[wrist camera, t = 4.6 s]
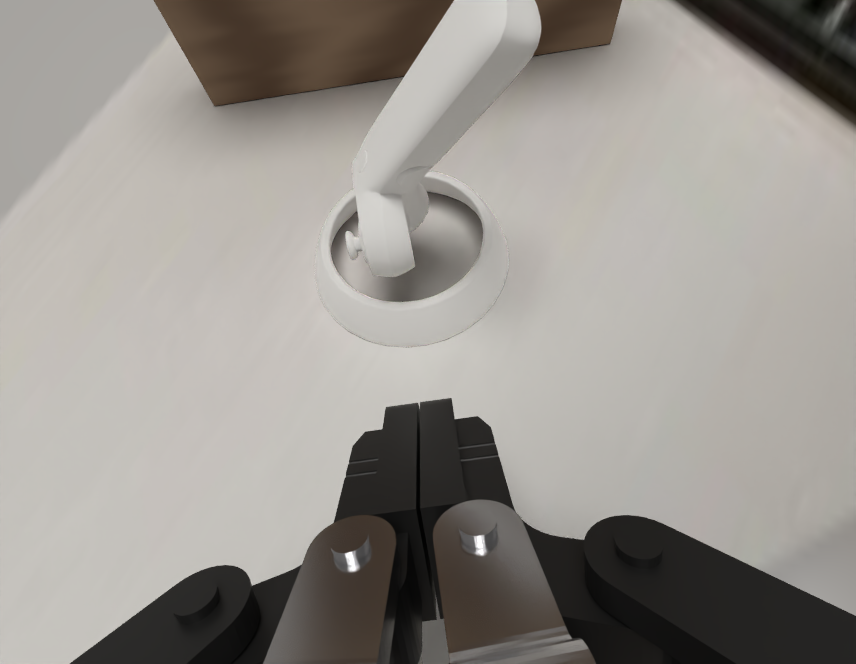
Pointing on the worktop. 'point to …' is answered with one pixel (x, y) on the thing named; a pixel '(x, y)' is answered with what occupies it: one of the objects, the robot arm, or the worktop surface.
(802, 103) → the worktop surface
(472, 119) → the white lever switch
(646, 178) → the worktop surface
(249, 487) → the worktop surface
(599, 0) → the wall board
